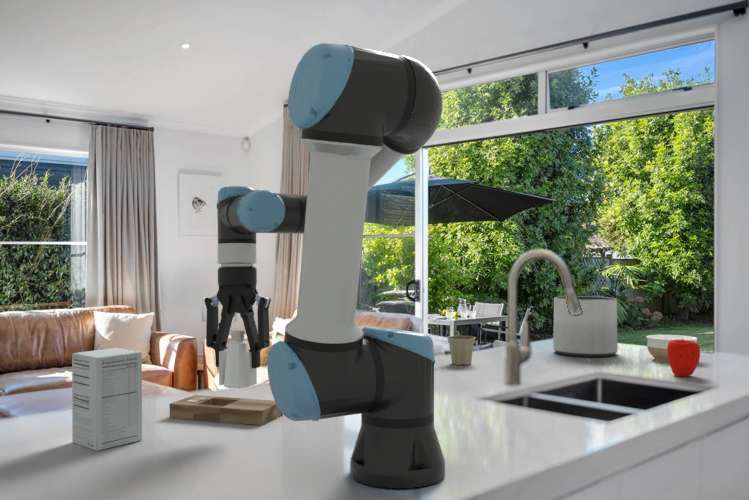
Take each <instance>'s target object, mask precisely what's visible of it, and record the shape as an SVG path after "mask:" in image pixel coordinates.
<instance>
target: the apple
mask: <svg viewBox="0 0 749 500" xmlns="http://www.w3.org/2000/svg"><path fill="white" fill-rule="evenodd" d="M667 352H668V360H669V362H668V363H669V367H670V370H671V372H672V374H673V375H674V376H676V377H681V378H685V377H686V378H687V377H691V376H692V375H693V374H694V372H695V370H696V368H697V367H698V365H699V362H700V357H701V349H700V345H699V343H697V342H694V341H688V340H683V339H682V340H671V341H669V343H668V346H667Z"/></svg>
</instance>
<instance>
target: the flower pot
mask: <svg viewBox="0 0 749 500" xmlns="http://www.w3.org/2000/svg"><path fill="white" fill-rule="evenodd" d="M446 339H447V342H448V345H449V351H450V357H451V364H452V363H453V364H452V365H454V364H455V365H456V366H462V365H464V366H469V364H470V365H472V360H473V352H474V351H473V350H474V344H475V341H476V339H477V338H476V336H472V335H451V336H447V337H446Z"/></svg>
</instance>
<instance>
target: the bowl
mask: <svg viewBox="0 0 749 500" xmlns="http://www.w3.org/2000/svg"><path fill="white" fill-rule="evenodd" d="M645 338H646V340H647V346H646V347H647V351H648V352H649V354H650V355H651V357H652V358H653V359H654V361H657V362H661V363H669V360H668V352H667V346H668V343H669V341H671V340H682V339H683V340H688V341H694V342H696V343H697V341H698V338H697V337H696V336H691V335H682V334H681V335H680V334H661V333H660V334H648V335H646V336H645Z"/></svg>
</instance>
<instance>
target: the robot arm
mask: <svg viewBox="0 0 749 500" xmlns="http://www.w3.org/2000/svg"><path fill="white" fill-rule="evenodd" d="M287 106H288V107H287V108H288V110H289V118H290V120H291V122H292V124H293V125H295V126H296V127H297V128H300V129H301V136H300V137H301V138H300V141H301V142H302V144H303V145H304V146H305V147H306V149H307V150H308V151H309V154H310V158H309V170H308V181H307V193H306V194H300V193H299V194H298V193H297V194H296V193H280V192H279V193H276V192H273V191H271V190H267V189H262V190H260V189H254V188H253V187H250V186H243V185H242V186H239V185H235V186H234V185H232V186H231V185H230V186H223V187H220V188H219V190H218V192H217V203H216V209H217V212H216V213H217V215H216V216H217V264H218V265H220V267H218V269H217V286H218V291H217V293H216V295H213V296H209V297H208V296H207V297H204V301H203V302H204V305H205V308H206V325H205V326H206V333H205V334H206V335H205V341H206V342H205V345H206V347H207V348H210V349H213V350H214V352H215V354H214V355H215V367H216V368H218V385H219V386H224V379H225V369H226V359H227V349H228V346H227V345H228V339H229V335H230V333H231V332H230V331H231V327H232V323H233V318H234V317H235V316H236V314H239V315H240V318H241V319H242V322H243V326H244V330H245V334H246V335H245V336H246V337H247V344H248V348H249V349H248V352H246V359H247V386H249V387H251V386H255V385H257V383H258V382H257V378H258V377H257V375H258V371H257V370H258V368H260V367H261V352H262V350H263V349H266V348H269V347H270V348H269V350H268V355H267V376H268V383H269V387H270V388H269V389H270V391H271V394H272V397H273V399H274V400H273V401H275V402H276V404H277V406H278V408H279V410H280V411H281V412H282V414H283V415H282V416H284V417H285V418H287V419H288V420H290V421H293V422H301V421H302V422H303V421H313V422H319V421H320V420H324V419H332V418H339V417H345V416H353V415H360V417H361V419H360V420H361V422H360V428H359V432H358V435H357V438H356V441H355V445H354V447H353V451H352V453H351V457H350V461H349V468H350V469H349V473H350V474H351V475H350V474H349V475H350V477H351V476H352V477H353V478H354V479H353V478H352V477H351V478H352V479H353V480H355V481H356V480H357V481H356V482H358V481H359V482H358V483H360V482H362V483H361V484H363V483H364V484H363V485H366V484H368V485H367V486H370V485H372V486H371V487H374V486H379V487H378V488H381V487H387V488H386V489H392V488H407V489H415V488H414V487H418V488H422V487H421V486H424V487H427V486H433V485H435V484H437V483H438V482H441V481H442V480H443V479H444V478H445V476H446V461H445V460H446V459H445V456H444V454H443V451H442V448H441V444H440V440H439V437H438V435H437V432H436V429H435V364H436V359H435V349H434V341H433V339H432V337H430V335H428V334H426V333H423V332H418V331H410V330H403V329H395V328H388V327H387V328H386V327H377V326H363V327H362V328H361V327H360V325H359V324H358V323H357V322H356V313H357V312H356V311H357V300H358V292H359V281H360V272H361V262H362V250H363V242H364V230H365V223H366V221H365V220H366V211H367V198H368V192H369V191H370V190H371V189H372V188H373V187H375V186H374V185H376V184H377V183H379V181H380V180H381V179H382V178H383V177H385V175H386V174H387V173H388V172H389V171H390V170H391V169H392V168H394V166H395V165H396V164H398V162H399V161H400V160H402V158H403V157H404V156H411V155H413V154H415V153H417V152H418V151H419V150H421V148H423V146H424V145H426V144H427V143H428V142H429V141H430V139H431V138H432V136H433V135H434V133H435V132H436V130H437V128H438V126H439V125H440V121H441V118H442V112H443V94H442V90H441V86H440V85H439V83H438V80H437V78H436V76H435V75H434V74H433V72H432V71H431V69H429V68H428V67H427V66H426V65H425V64H423V62H421V61H419V60H418V59H415V58H413V57H410V56H408V55H407V56H406V55H401V54H398V55H397V54H393V53H388V52H387V53H386V52H384V51H383V52H382V51H377V50H374V49H368V48H363V47H360V46H359V47H358V46H354V45H349V44H340V43H328V42H327V43H326V42H325V43H318V44H316V45H313V46H312V47H310V48H309V49H308V50H307V51H306V52H305V53H304V54H303V56H301V59H300V61H299V62H298V63H297V66H296V68H295V70H294V73H293V75H292V78H291V81H290V87H289V91H288V99H287ZM257 234H298V235H300V234H302V235H303V241H302V249H301V250H302V253H301V263H300V264H301V265H300V275H299V286H298V287H299V288H298V297H297V298H298V299H297V300H298V301H297V312H296V316H295V317H294V318H293V319H292V320H290V321H289V322H288V323H286V326H285V327H284V328H285V329H284V330H285V331H284V340H283V341H282V340H279V341H277V342H276V343H273V344H272V345H271V346H270V343H271V342H270V318H269V317H270V316H269V315H270V313H269V310H270V309H269V308H270V305H271V302H272V299H271V297H270V296H264V295H260V294H259V293H258V290H257V284H258V279H257V278H258V277H257V275H258V274H257V273H258V271H257V266H254V265H255V264H256V263H257ZM255 303H256V306H257V313H256V314H257V325H256V321H255V317H254V316H255V312H254V307H253V306H254V305H255ZM219 305H221V306H222V308H221V311H220V317H221V318H220V322H219Z"/></svg>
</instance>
